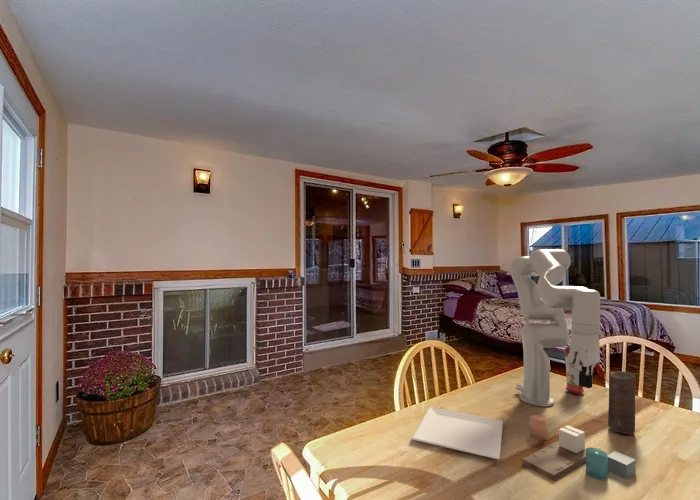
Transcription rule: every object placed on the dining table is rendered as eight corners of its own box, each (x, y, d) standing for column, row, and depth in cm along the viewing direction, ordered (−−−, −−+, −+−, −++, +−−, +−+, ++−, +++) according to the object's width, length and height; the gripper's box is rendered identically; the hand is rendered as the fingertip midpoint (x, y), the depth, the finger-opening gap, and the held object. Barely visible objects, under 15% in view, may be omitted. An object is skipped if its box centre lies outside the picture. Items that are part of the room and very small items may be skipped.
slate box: (606, 470, 101) (606, 455, 101) (615, 464, 104) (615, 451, 104) (626, 479, 97) (626, 465, 97) (635, 474, 99) (635, 459, 99)
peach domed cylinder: (527, 435, 120) (527, 417, 120) (535, 431, 123) (535, 413, 123) (541, 441, 116) (541, 423, 116) (550, 437, 119) (550, 419, 119)
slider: (559, 445, 110) (559, 429, 110) (567, 441, 113) (567, 424, 113) (576, 453, 106) (576, 436, 106) (584, 448, 109) (584, 431, 109)
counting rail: (522, 463, 104) (522, 457, 104) (562, 443, 115) (562, 438, 115) (553, 480, 96) (553, 474, 96) (593, 457, 107) (593, 451, 107)
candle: (640, 438, 118) (640, 377, 118) (615, 436, 119) (615, 376, 120) (627, 427, 125) (627, 370, 126) (603, 425, 127) (603, 368, 127)
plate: (503, 425, 127) (503, 419, 127) (499, 465, 104) (499, 458, 104) (429, 411, 139) (429, 406, 139) (411, 444, 115) (411, 437, 115)
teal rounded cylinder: (582, 472, 100) (582, 450, 100) (591, 466, 103) (591, 445, 103) (602, 482, 96) (602, 459, 96) (611, 476, 98) (611, 454, 98)
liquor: (562, 392, 156) (562, 328, 156) (568, 388, 161) (567, 325, 161) (582, 397, 151) (581, 330, 151) (587, 392, 156) (586, 328, 156)
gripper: (584, 323, 121) (584, 378, 121) (560, 328, 113) (560, 387, 113) (610, 328, 114) (610, 385, 114) (586, 333, 106) (586, 395, 107)
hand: (585, 386), depth 114 cm, fingers closed
